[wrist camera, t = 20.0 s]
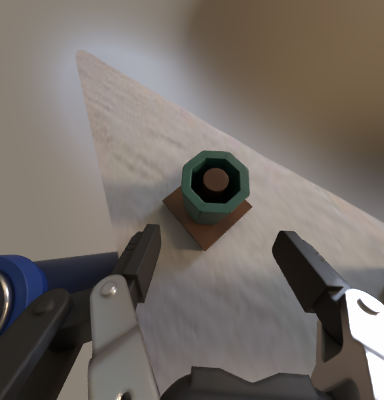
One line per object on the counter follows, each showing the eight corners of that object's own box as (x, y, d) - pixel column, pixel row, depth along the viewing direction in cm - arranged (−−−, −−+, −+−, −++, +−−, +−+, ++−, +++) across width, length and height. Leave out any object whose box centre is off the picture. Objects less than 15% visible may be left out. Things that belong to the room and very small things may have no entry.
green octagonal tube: (205, 233, 19) (214, 227, 11) (177, 202, 20) (168, 176, 12) (236, 205, 20) (263, 182, 12) (207, 177, 21) (216, 139, 13)
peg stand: (204, 250, 19) (213, 258, 10) (164, 203, 21) (143, 174, 12) (248, 209, 21) (291, 184, 12) (207, 168, 23) (217, 120, 14)
